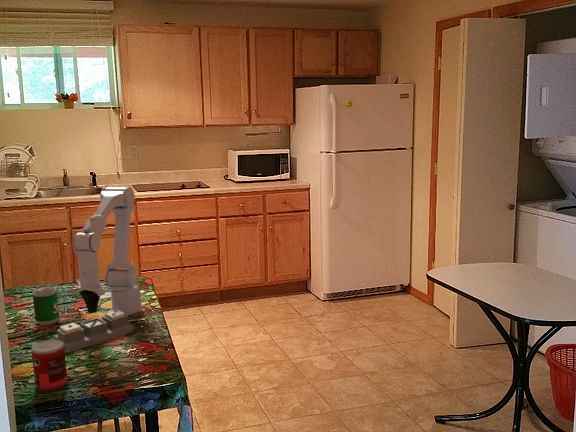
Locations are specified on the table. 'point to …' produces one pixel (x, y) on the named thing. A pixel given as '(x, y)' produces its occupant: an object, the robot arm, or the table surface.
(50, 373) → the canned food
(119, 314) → the two pip button
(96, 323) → the three pip button
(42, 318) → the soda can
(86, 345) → the button panel
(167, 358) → the table surface
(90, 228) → the robot arm
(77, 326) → the one pip button
